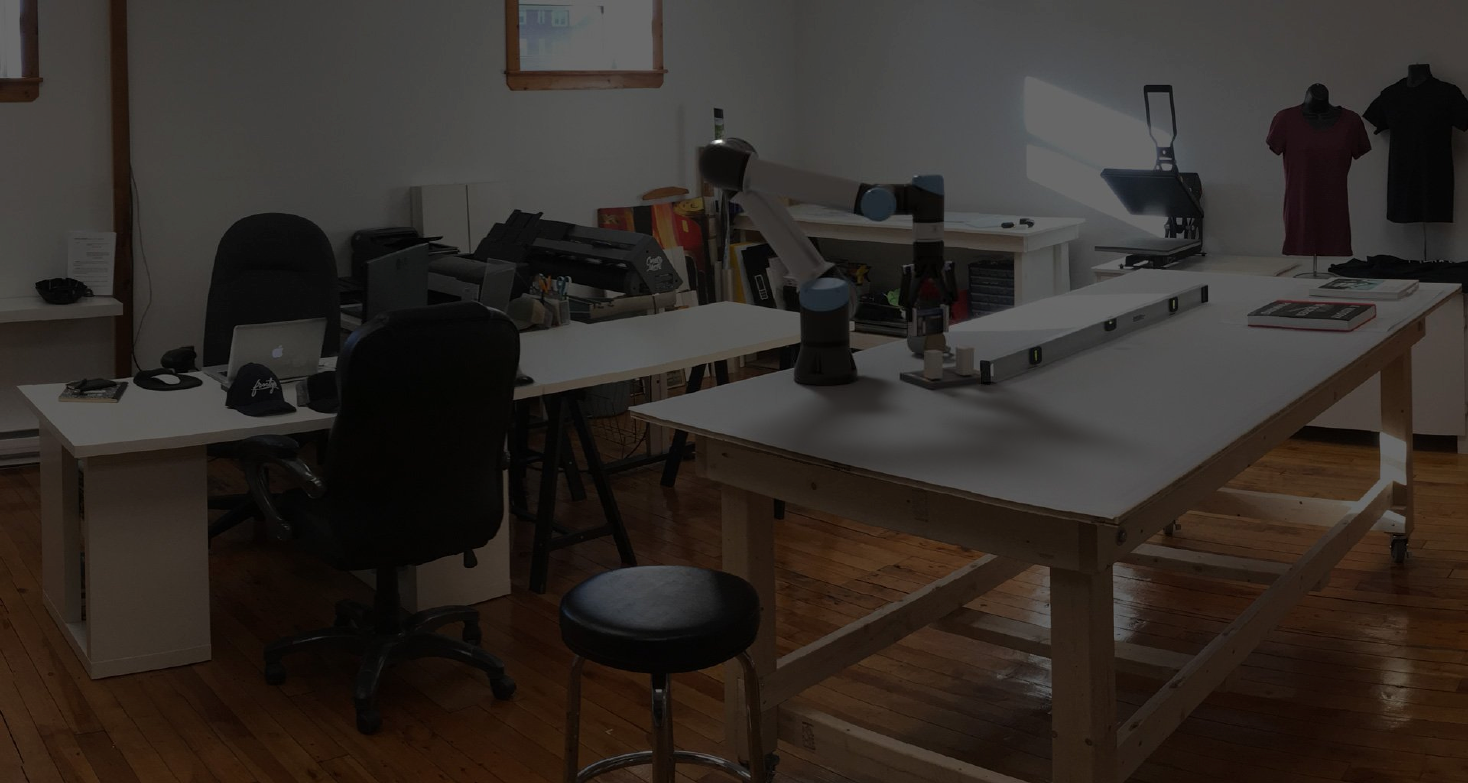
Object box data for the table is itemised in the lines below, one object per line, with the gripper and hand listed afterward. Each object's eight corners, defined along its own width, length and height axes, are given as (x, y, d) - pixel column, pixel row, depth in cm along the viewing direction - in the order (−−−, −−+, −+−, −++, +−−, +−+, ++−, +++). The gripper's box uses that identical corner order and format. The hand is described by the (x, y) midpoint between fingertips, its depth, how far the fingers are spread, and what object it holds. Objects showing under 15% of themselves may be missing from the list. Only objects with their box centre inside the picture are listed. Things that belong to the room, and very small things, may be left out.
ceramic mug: (925, 359, 328) (925, 329, 326) (905, 354, 335) (906, 325, 333) (958, 355, 333) (958, 325, 331) (938, 350, 340) (939, 321, 338)
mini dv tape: (917, 337, 309) (917, 312, 308) (913, 336, 311) (913, 311, 309) (943, 333, 314) (943, 308, 312) (939, 332, 315) (939, 308, 314)
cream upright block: (931, 379, 294) (931, 352, 293) (924, 376, 297) (924, 350, 295) (942, 377, 295) (942, 351, 294) (935, 375, 298) (935, 349, 297)
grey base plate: (931, 389, 292) (931, 383, 291) (899, 379, 304) (899, 372, 304) (994, 381, 298) (994, 375, 298) (960, 371, 311) (960, 365, 310)
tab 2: (962, 375, 297) (962, 349, 296) (955, 373, 300) (955, 347, 299) (973, 373, 298) (973, 348, 297) (966, 371, 301) (966, 346, 300)
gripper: (897, 244, 300) (898, 339, 305) (974, 237, 308) (974, 331, 313) (881, 241, 307) (882, 335, 311) (957, 235, 315) (957, 327, 320)
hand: (928, 333), depth 312 cm, fingers closed on mini dv tape, 8 cm apart
